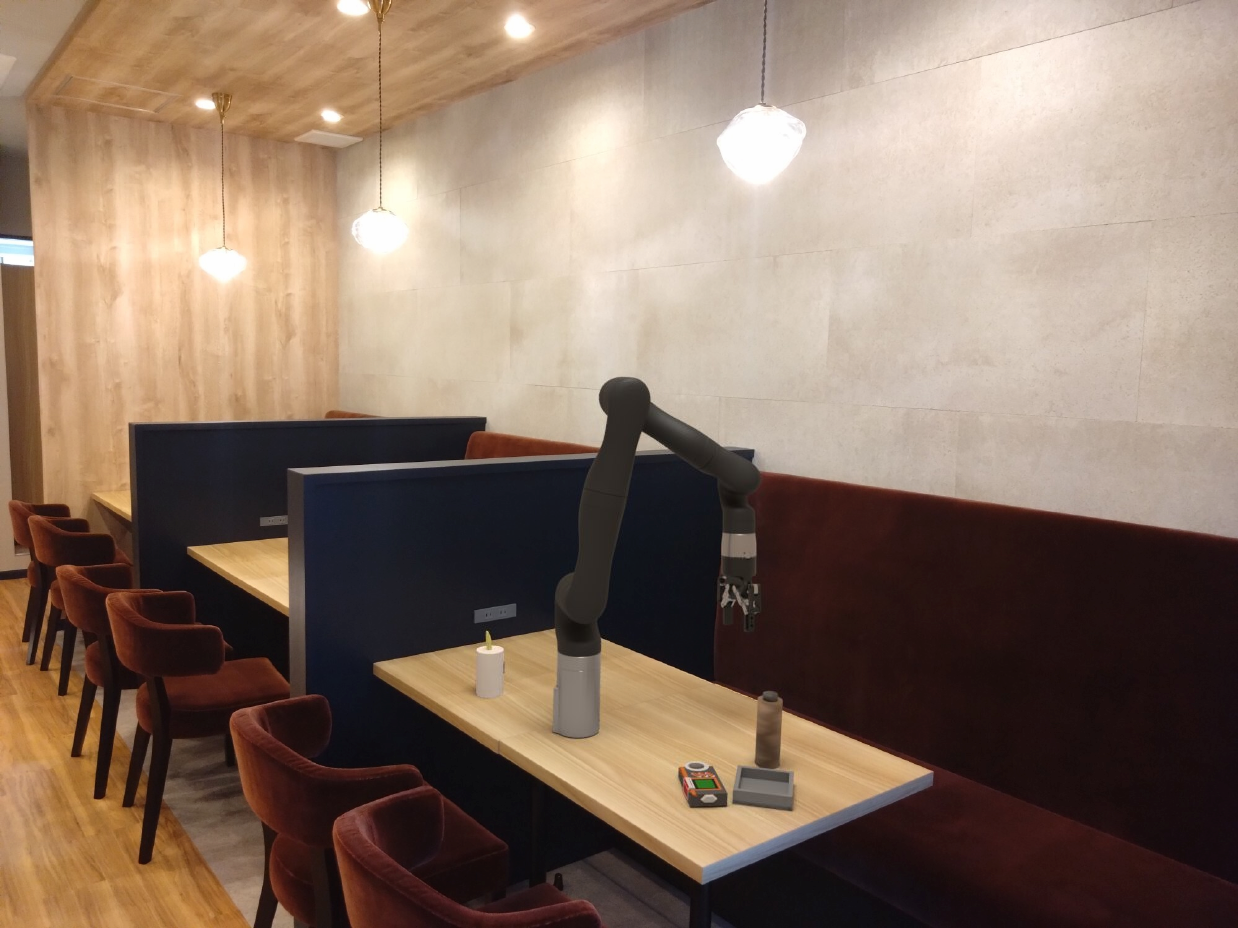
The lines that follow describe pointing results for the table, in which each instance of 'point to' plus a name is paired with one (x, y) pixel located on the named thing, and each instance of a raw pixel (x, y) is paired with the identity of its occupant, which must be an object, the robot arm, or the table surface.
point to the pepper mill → (768, 730)
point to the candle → (489, 670)
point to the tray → (763, 787)
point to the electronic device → (702, 785)
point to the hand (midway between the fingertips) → (738, 627)
